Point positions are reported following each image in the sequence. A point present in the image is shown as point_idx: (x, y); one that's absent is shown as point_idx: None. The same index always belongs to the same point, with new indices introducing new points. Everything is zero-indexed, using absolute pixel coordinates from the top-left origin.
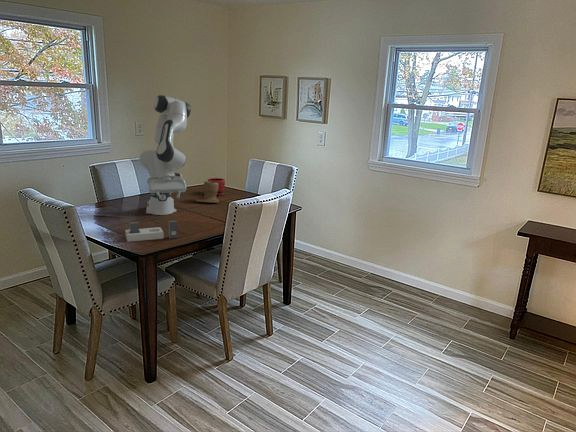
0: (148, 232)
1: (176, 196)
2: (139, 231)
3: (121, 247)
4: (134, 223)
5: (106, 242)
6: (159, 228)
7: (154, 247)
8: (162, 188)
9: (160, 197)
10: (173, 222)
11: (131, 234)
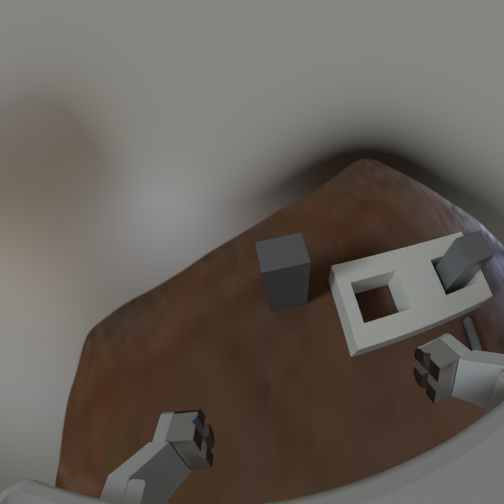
0: (400, 263)
1: (210, 456)
2: (442, 294)
3: (443, 200)
4: (469, 235)
5: (498, 243)
6: (360, 326)
7: (347, 193)
8: (497, 428)
9: (441, 336)
10: (278, 238)
11: (452, 239)
